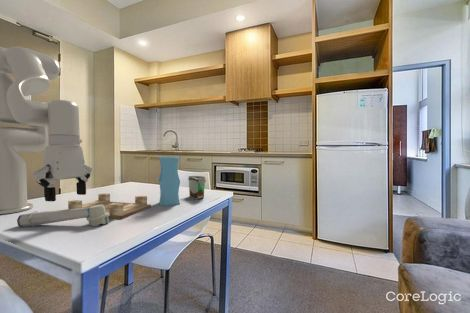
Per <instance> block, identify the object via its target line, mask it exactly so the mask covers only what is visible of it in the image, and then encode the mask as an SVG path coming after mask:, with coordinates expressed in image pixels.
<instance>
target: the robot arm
mask: <svg viewBox="0 0 470 313" xmlns="http://www.w3.org/2000/svg"><path fill="white" fill-rule="evenodd" d="M60 68H61V67H60V65H59V63H58V61H57V59H55V58H54V57H53V56H50V55H48V54H45V53H41V52H40V51H35V50H34V49H31V48H28V47H23V46H17V45H16V46H10V47H9V48H6V47H2V46H0V123H1V124H8V125H21V126H27V127H18V126H16V127H15V126H0V215H6V214H7V215H8V214H14V213H19V212H23V211H27V210H31V209H32V208H33V207H34V204H33V203H29V202H28V178H27V177H28V176H27V174H28V173H27V170H28V169H27V162H26V161H25V159H24V158H22V157H23V156H20V154H19V153H37V152H38V153H40V152H44V153H43V159H42V167H41V168H40V169H38V170H36V171H34V172H33V173H32V177H34V180H36V183H37V184H38V185H40V187H41V188H43V194H44V195H43V196H44V201H45V202H56V200H57V199H56V198H57V197H56V193H57V192H56V187H54V185H55V184H56V183H57V182H58V181H63V180H70V179H75V180H76V181H77V182H75V183H76V186H75V187H76V195H80V196H85V195H87V182H89V179H90V177H91V174H92V171H93V168H92V167H90V166H88V165H86V164H85V156H84V151H83V148H82V146H81V144H82V143H83V140H82V138H81V137H80V109H79V105H78V104H77V103H76V102H74V101H71V100H65V99H52V100H50V101H48V102H45V101H38V100H31V99H27V98H26V96H27V97H28V96H33V95H34V96H35V95H38V94H39V95H40V94H43V93H45V92H46V91H48V90H49V89H50V86H51V82H50V81H51V80H56V79H57V78H58V77H59V76H60V72H61V69H60ZM6 73H8V74H11V75H12V76H13V77H14V80H15V81H14V80H13V79H12V78H11V77H10V76H9V75H8V74H6Z"/></svg>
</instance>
